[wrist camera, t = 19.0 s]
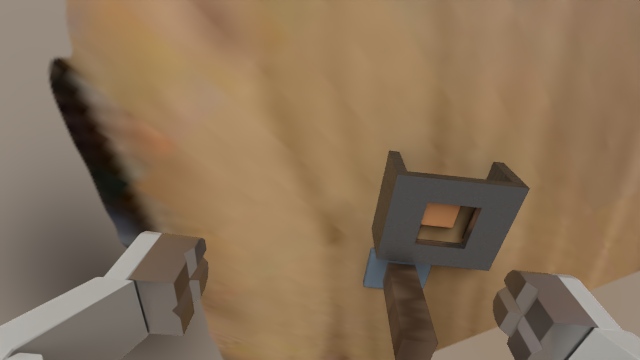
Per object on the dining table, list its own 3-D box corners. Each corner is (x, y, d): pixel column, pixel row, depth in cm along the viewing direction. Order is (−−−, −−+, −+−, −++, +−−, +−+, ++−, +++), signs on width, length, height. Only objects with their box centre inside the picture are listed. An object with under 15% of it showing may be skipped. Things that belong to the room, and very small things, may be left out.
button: (457, 185, 40) (464, 196, 38) (446, 216, 42) (452, 227, 40) (419, 181, 40) (424, 191, 38) (410, 212, 42) (414, 223, 40)
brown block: (415, 265, 46) (438, 342, 36) (408, 284, 48) (428, 363, 38) (387, 262, 46) (402, 339, 36) (382, 281, 48) (395, 360, 38)
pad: (432, 254, 46) (434, 259, 45) (420, 287, 50) (421, 292, 49) (371, 247, 46) (371, 252, 45) (363, 281, 50) (363, 286, 49)
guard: (503, 162, 38) (529, 188, 33) (470, 238, 44) (488, 270, 39) (389, 150, 38) (397, 174, 33) (371, 228, 44) (376, 259, 39)
